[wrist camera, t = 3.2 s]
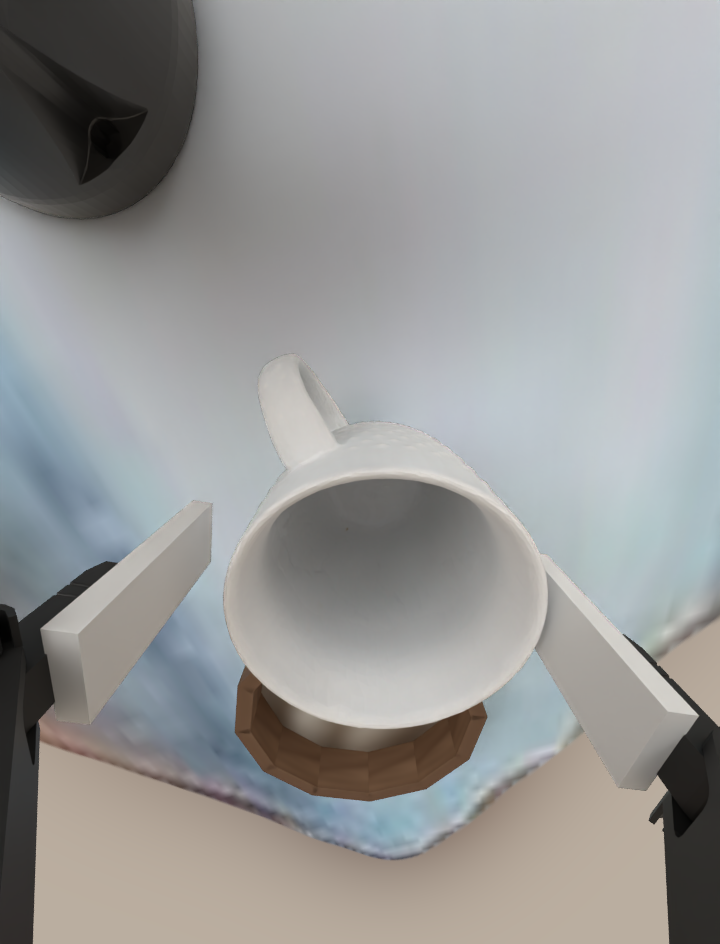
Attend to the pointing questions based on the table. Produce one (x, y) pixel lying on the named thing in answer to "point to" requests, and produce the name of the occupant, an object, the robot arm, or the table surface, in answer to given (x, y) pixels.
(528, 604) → the mug
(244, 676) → the holder
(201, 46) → the table surface
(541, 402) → the table surface
